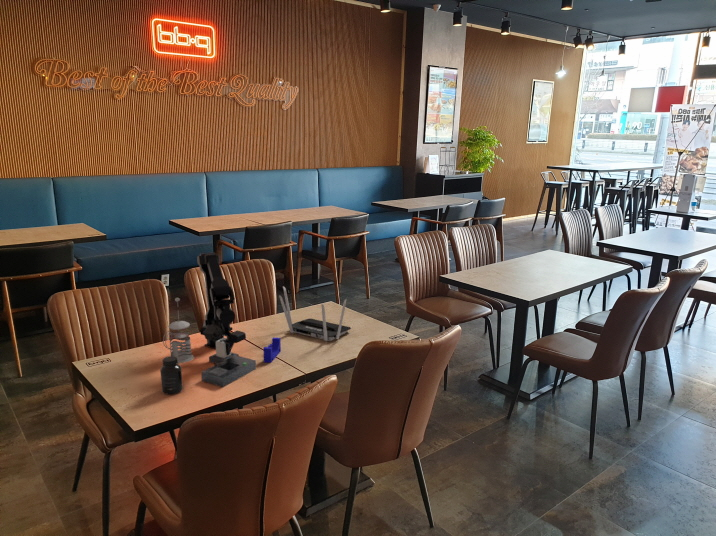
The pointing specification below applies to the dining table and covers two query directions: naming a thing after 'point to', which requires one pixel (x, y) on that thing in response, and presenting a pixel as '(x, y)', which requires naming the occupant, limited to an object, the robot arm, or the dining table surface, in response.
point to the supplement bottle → (171, 376)
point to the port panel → (228, 370)
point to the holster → (218, 360)
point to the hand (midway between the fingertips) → (223, 353)
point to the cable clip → (272, 350)
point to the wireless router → (315, 324)
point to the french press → (185, 352)
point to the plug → (221, 349)
